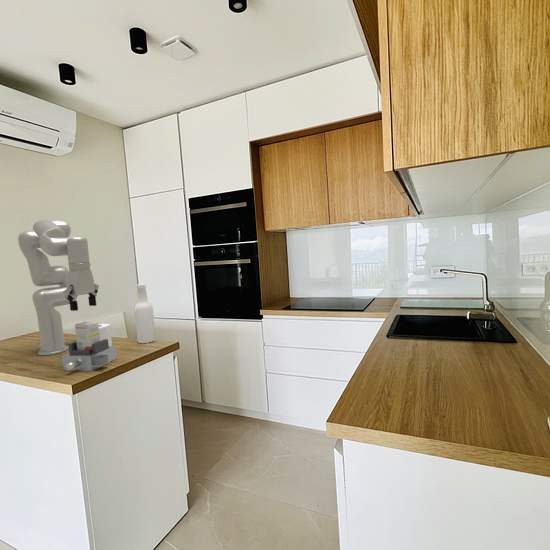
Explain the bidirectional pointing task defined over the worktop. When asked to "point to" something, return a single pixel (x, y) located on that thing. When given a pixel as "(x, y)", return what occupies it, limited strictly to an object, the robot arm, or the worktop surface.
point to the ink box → (86, 335)
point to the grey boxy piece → (88, 356)
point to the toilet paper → (105, 333)
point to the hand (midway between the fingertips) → (83, 307)
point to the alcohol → (144, 317)
